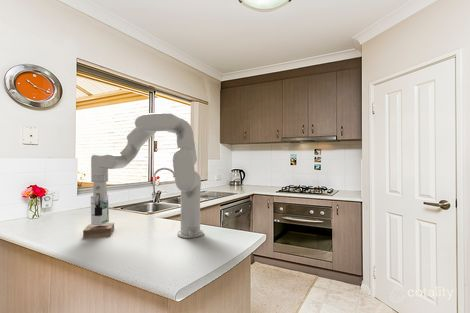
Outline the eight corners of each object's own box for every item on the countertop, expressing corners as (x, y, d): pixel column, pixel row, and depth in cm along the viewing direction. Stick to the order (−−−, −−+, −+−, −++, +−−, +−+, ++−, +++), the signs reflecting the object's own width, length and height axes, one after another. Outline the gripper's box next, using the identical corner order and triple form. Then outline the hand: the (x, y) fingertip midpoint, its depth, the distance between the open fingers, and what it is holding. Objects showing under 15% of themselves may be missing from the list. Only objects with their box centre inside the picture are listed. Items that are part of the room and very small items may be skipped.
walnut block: (111, 236, 126) (111, 228, 126) (83, 239, 123) (83, 230, 123) (114, 230, 138) (114, 222, 138) (88, 232, 134) (88, 224, 134)
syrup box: (101, 225, 127) (100, 195, 127) (90, 224, 128) (90, 195, 128) (108, 222, 132) (108, 194, 132) (98, 222, 134) (98, 193, 134)
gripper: (105, 180, 123) (105, 217, 123) (110, 177, 140) (110, 210, 140) (87, 180, 121) (87, 218, 121) (94, 178, 137) (95, 211, 137)
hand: (99, 213), depth 130 cm, fingers closed on syrup box, 7 cm apart
